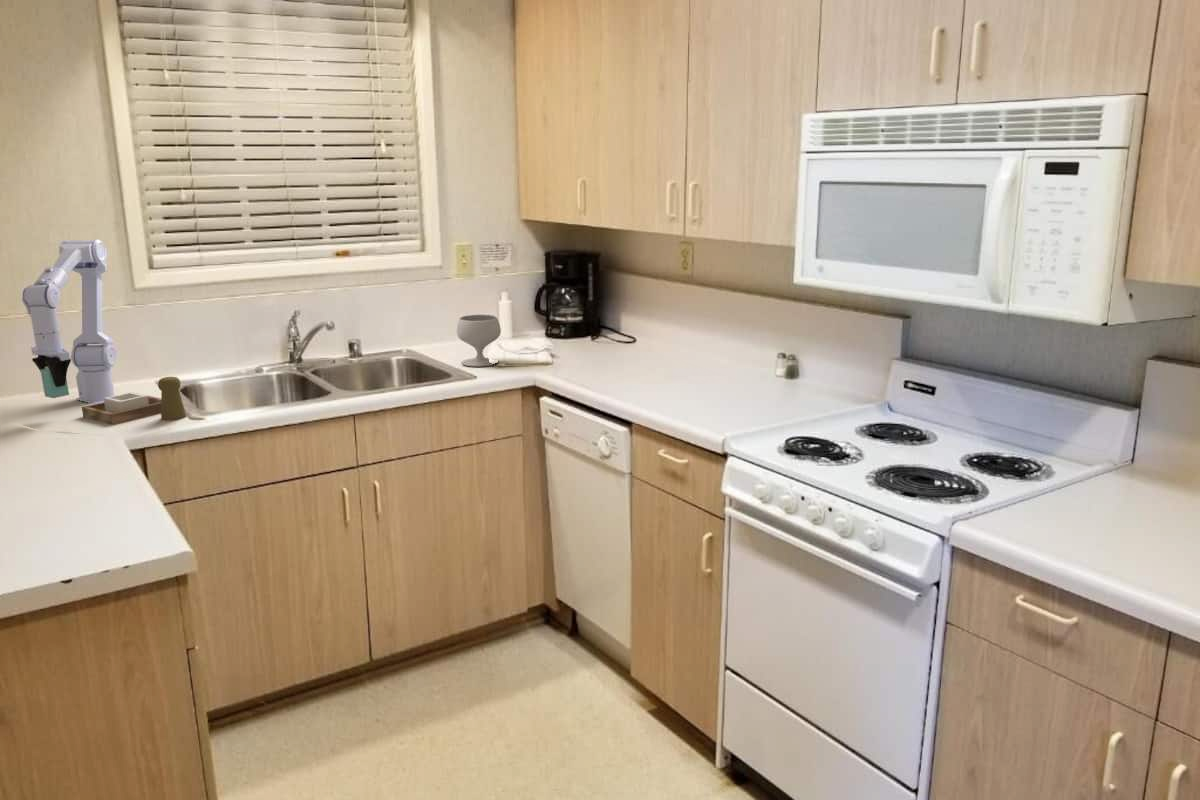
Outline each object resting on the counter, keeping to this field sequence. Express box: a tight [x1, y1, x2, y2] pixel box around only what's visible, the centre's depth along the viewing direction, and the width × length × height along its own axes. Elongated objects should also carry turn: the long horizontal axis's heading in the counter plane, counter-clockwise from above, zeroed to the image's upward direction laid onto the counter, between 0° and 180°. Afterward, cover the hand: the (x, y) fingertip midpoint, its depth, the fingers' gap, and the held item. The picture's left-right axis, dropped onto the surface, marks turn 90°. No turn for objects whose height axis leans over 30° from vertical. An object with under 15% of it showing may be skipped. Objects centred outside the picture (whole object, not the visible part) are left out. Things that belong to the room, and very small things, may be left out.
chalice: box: [456, 314, 502, 368], centre depth 296 cm, size 14×14×15 cm
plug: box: [39, 367, 70, 399], centre depth 235 cm, size 4×4×8 cm
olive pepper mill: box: [157, 376, 187, 422], centre depth 236 cm, size 6×6×11 cm
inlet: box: [104, 391, 149, 413], centre depth 241 cm, size 8×8×4 cm
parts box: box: [81, 394, 161, 426], centre depth 242 cm, size 14×16×3 cm
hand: (55, 384), depth 235 cm, fingers closed on plug, 4 cm apart
